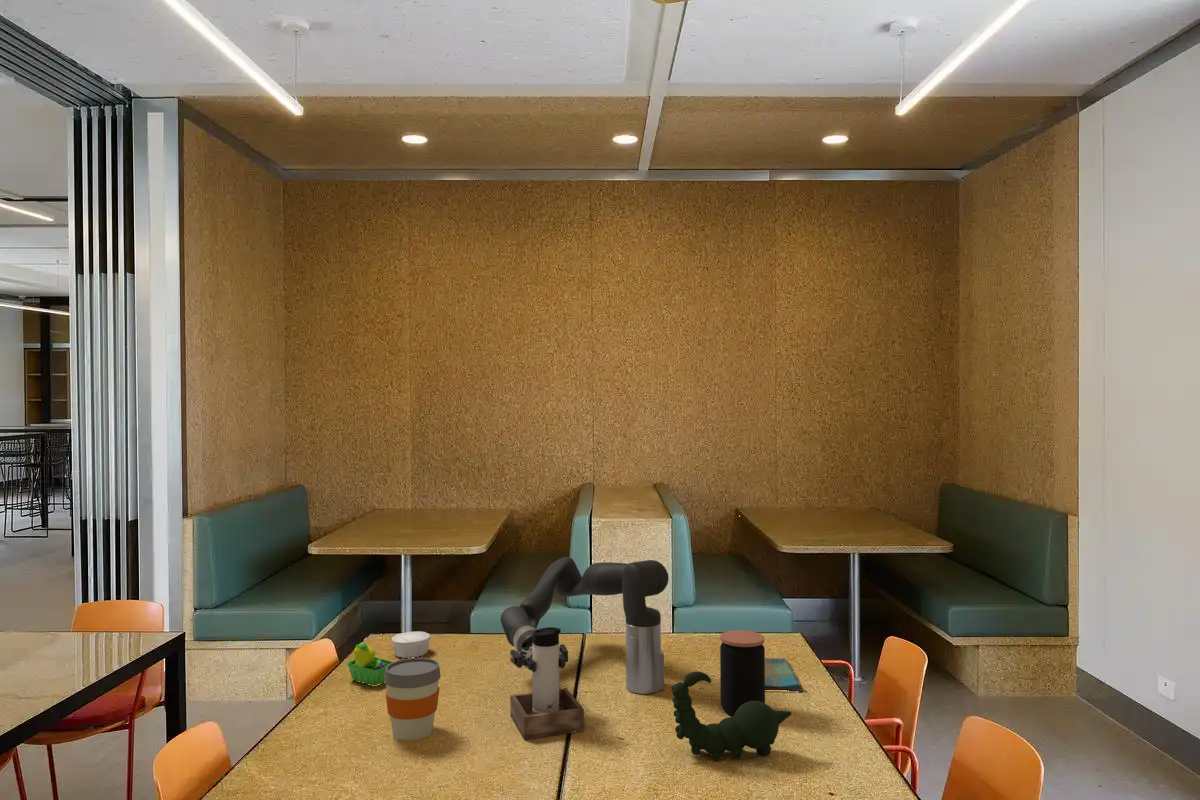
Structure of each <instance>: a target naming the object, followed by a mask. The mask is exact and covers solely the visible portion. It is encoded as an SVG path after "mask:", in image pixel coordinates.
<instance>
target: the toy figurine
mask: <svg viewBox="0 0 1200 800" xmlns="http://www.w3.org/2000/svg"><path fill="white" fill-rule="evenodd" d="M702 681H705V682H707V683H709V684H711V683H712V679H711V677H710V676H709V675H708V674H706V673H705V672H702V671H697V670H695V671H692V672H689V673H687V674H686V675H685V676H684V678H683V682H676V683H675V684H674V685H672V686H671V688H670V690H671V694H672V696H673V697H672V699H671V700H672V703H673V708H674V709H675V710H674V711H673V712H672V713H673V717H675V718H674V719H675V720H674V721H675V723H677V724H678V725H676V726H675V728H674V729H675V733H676V738H677V739H678V740H683V739H685V738H686V739H688V744H689V745H690V747H691V749H690V751H691V754H692V755H694V756H699V755H700V754H701V750H704V751H705V752H706V753H708V754H710V757H711V759H712V760H713V761H716V762H717V761H719V760H720V759H721V757H722V755H721V754H723V753H725V752H729V753H730V755H731V756H732V758H733V759H737V760H739V759H740V758H741V757H742V756H743V753H744V752H743V748H744V747H748V748H749V749H754V750H755V751H756V753H757V754H758V755H760V756H761V757H768V756H769V755H770V754H771V751H772V746H771V745H774V744H775V741H776V738H777V736H778V733H779V727H780V725H781V724H782V723H783V722H784V721H785V720H786V719H788V718H789V717H790V716H791V715H792V713H793V712H792V711H789V710H775V709H773V708H772V707H771V706H770V705H768V704H767V703H766V702H765V703H763V702H760V701H749V702H746V703H744V704H742V705H741V706H740V707H739V708H738V709H737V711H736V712H735V715H734V717H733V716H729V717H725V718H723V719H721V720H720V721H719V723H714V722H713V723H708V724H705V723H701V722H700V720H699V718H698V717H697V715H696V710H695V709H694V707H693V705H692V704H693V699H692V697H691V695H690V693H689V692H690V689H689V688H691V687H693V686H695V685H696V684H697V683H698V682H702Z"/></svg>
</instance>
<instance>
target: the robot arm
mask: <svg viewBox="0 0 1200 800" xmlns="http://www.w3.org/2000/svg"><path fill="white" fill-rule="evenodd" d="M669 578H670V576H669V573H668V570H667V568H666V567H665V566H664V565H663V564H662V563H661V562H660V561H658V560H655V559H648V560H642V561H641V560H639V561H634V562H629V563H624V562H609V561H608V562H607V561H606V562H605V561H604V562H594V563H592V564H589V566H588V567H587V568H586V569H585V570H584V572H583V573H582V575H581V573H580V570H579V568H578V566H577V564H576V561H574V559H573V558H572V557H570V556H564V557H562V558H559V559H557V560H555V561H553V562H552V563H551V564H549V566H548V567H547V568H546V570H545V572H544V573H543V575H542V576H541V577H540V579H539V581H538V583H537V584H536V587H535V588H534V589H533V590H532V592H531V593H530V594H529V595H528V596H526V598H525V599H523V601H522V602H521V603H520V604H519V606H518V605H517V606H516V605H513V606H509V607H507V608H505V609H504V610H503V612H502V613H501V615H500V624H501V626H502V629H503V631H504V634H505V637H506V640H507V642H508V644H510V645H511V646H512V647H514V648H515V649H511V650H510V652H509V655H510V656H509V659H510V662H511V663H512V664H513V665H514V666H516V668H517V669H521V668H522V667H523V666H524V667H525V668H526V669H527V670H529V671H531V672H536V663H535V661H534V660H533V658H532V657H533V633H534V632H535V631H536V630H538V626H539V624H540V620H541V619H542V618H543V617H544V616H545V615H546V614H547V613H548V611H549V610H550V608H551V606H552V603H553V598H554V591H555V593H556V594H557V595H558V596H559V597H561V598H569V597H576V596H586V595H587V596H588V595H589V596H590V595H591V596H613V595H620V594H622V603H623V604H622V607H623V611H624V616H625V687H626V690H628V691H629V692H630V693H631V692H632V693H634V694H641V695H642V694H643V695H647V694H648V695H649V694H654V693H657V692H659V691H662V690H665V653H664V651H662V641H661V640H662V638H661V637H662V636H661V635H662V633H661V632H662V628H661V627H662V626H661V625H662V623H661V622H662V615H661V612H660V611H659V610H658V609H656V608H653V607H649V606H647V601H646V598H647V597H652V596H653V597H654V596H656V595H659V594H661V593H663V592H664V591H665V589H666V588H667V586H668V584H669V580H670V579H669ZM568 662H569V650H568V649H567V646H566V645H565V644H564V643H561V644H559V669H564V668H565V667H566V666H567V665H566V664H567V663H568Z"/></svg>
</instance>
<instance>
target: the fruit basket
mask: <svg viewBox="0 0 1200 800" xmlns="http://www.w3.org/2000/svg"><path fill="white" fill-rule="evenodd" d="M353 653H354V659H353V660H349V661H347V662H346V664H347V667H348V669H349V673H350V676H351V680H352V679H353V680H357V681H360V682H364V683H366V684H370V685H374V686H375V685H377V684H380V683H383V682H384V678H385V669H386V667H387V665H389V664H391V663H393V662H394V661H391V660H388V659H385V658H380V657H375V655H376V650H375V649H374V648H372V647H371V646H368V645H367V643H365V642H360V643H359V644H356V645H355V648H354V649H353ZM353 680H352V681H353ZM364 683H363V684H364ZM366 684H365V685H366ZM383 684H384V683H383ZM370 685H369V686H370Z"/></svg>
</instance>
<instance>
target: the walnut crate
mask: <svg viewBox="0 0 1200 800" xmlns="http://www.w3.org/2000/svg"><path fill="white" fill-rule="evenodd" d="M509 697H510V702H509V704H510V718H511V719H513V720H512V721H513V723H514V725H515V726H516V728H517V730H518V731H519V733H520V736H521V738H523V741H528V740H533V739H534V740H535V739H541V738H546V737H547V738H548V737H554V736H560V735H569V734H572V733H571V732H574V731H581V732H583V731H582V730H584V731H585V708H583V706H582V705H581V704H580V702H579V701H578V700H577V699H576V698H575V696H574V695H573V694H572V693H571V692H570V690H569V689H568V688H567V687H563V688H559V711H555V712H548V713H540V714H532V692H524V693H518V694H510V696H509ZM574 733H575V732H574Z"/></svg>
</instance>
